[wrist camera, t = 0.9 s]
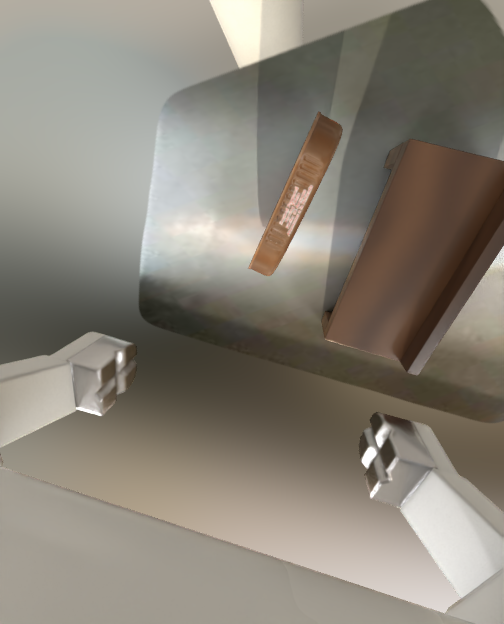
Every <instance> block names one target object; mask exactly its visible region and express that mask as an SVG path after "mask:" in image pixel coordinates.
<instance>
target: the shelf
mask: <svg viewBox="0 0 504 624" xmlns="http://www.w3.org/2000/svg"><path fill="white" fill-rule="evenodd" d="M384 168H386V169H390V170H392V171H391V174H390V176H389V179H388V181H387V183H386V186H385V188H384V191H383V193H382V195H381V198H380V200H379V202H378V205H377V207H376V210H375V212H374V214H373V217H372V219H371V222H370V224H369V226H368V229H367V231H366V234H365V236H364V238H363V241H362V243H361V245H360V248H359V250H358V253H357V255H356V257H355V260H354V262H353V265H352V267H351V269H350V272H349V274H348V277H347V279H346V281H345V284H344V286H343V289H342V291H341V293H340V296H339V298H338V300H337V303H336V305H335V308H334V310H333V312H332V313H330V312H327V311H325V313H324V316H323V318H322V321H321V322H322V327H323V333H324V337H325V339H326V340H329V341H332V342H336V343H339V344H343V345H346V346H349V347H353V348H356V349H359V350H363V351H366V352H370V353H373V354H376V355H380V356H383V357H386V358H390V359H393V360H397V361H400V362H401V364H402V365H403V367H404V369H405V370H406V372H408V373H411V374H414V375H418V374H419V373H420V371H421V370H422V368H423V367H424V365H425V364H426V362H427V361H428V359H429V358H430V356H431V355H432V353H433V352H434V350H435V349H436V347H437V346H438V344H439V342H440V341H441V339H442V338H443V336H444V335H445V333H446V332H447V330H448V329H449V327H450V326H451V324H452V323H453V321H454V320H455V318H456V317H457V315H458V314H459V312H460V311H461V309H462V308H463V306H464V305H465V303H466V302H467V300H468V299H469V297H470V296H471V294H472V293H473V291H474V290H475V288H476V287H477V285H478V283H479V282H480V280H481V279H482V277H483V276H484V274H485V273H486V271H487V270H488V268H489V267H490V265H491V264H492V262H493V261H494V259H495V258H496V256H497V255H498V253H499V252H500V250H501V249H502V247H503V246H504V161H501V160H497V159H493V158H489V157H485V156H480V155H476V154H472V153H468V152H464V151H460V150H456V149H451V148H447V147H443V146H439V145H435V144H431V143H427V142H423V141H418V140H414V139H409V140H407V141H406V142H404V143H402V144H400V145H399V146H397V147H395V148H393V149H392V150H390V153H389V155H388V157H387V160H386V162H385V165H384Z"/></svg>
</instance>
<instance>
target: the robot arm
mask: <svg viewBox="0 0 504 624" xmlns="http://www.w3.org/2000/svg"><path fill="white" fill-rule="evenodd" d="M135 355H137V346H136V345H135V344H133V343H130V342H127V341H124V340H121V339H117V338H114V337H111V336H106V335H103V334H100V333H97V332H89V333H87V334H85V335H84V336H82V337H81V338H79V339H77V340H75V341H74V342H72V343H71V344H69V345H67V346H66V347H64V348H62V349H61V350H59V351H57V352H56V353H54V354H52V355H51V356H46V355H43V356H38V357H34V358H29V359H25V360H21V361H16V362H11V363H7V364H2V365H0V447H3V446H4V445H7V444H9V443H11V442H13V441H15V440H17V439H19V438H21V437H23V436H25V435H27V434H29V433H31V432H33V431H35V430H38V429H40V428H42V427H44V426H46V425H48V424H50V423H51V422H54V421H56V420H58V419H60V418H62V417H64V416H66V415H68V414H70V413H73V412H75V411H76V409H78V410H81V411H85V412H89V413H92V414H96V415H100V416H103V415H104V414H105V413H106V412H107V410H108V409H109V408H110V407H111V406H112V405H113V404H114V403H115V402H116V400H117V394H120V393H122V392H124V391H126V390H127V388H129V387H130V385H131V384H132V382H133V380H134V378H135V375H136V371H137V364H136V363H135V361H134V360H133V357H134V356H135ZM370 423H371V427H369V428H367V429H365V430H364V431H363V433H362V436H361V437H360V443H359V454H360V459H361V461H362V463H363V464H364V465H365V467H366V468H367V469H368V470H367V471H366V473H365V479H366V483H367V488H368V492H369V495H370V498H372V499H374V500H378V501H380V502H384V503H386V504H389V505H392V506H395V507H398V508H401V509H400V511H401V512H402V513H403V515H404V516H405V518H406V520H407V521H408V522H409V524H410V525H411V527H412V528H413V530H414V531H415V533H416V534H417V536H418V537H419V539H420V540H421V541H422V543H423V544H424V546H425V547H426V549H427V550H428V552H429V553H430V555H431V556H432V558H433V559H434V560H435V562H436V563H437V565H438V566H439V568H440V569H441V571H442V572H443V574H444V575H445V576H446V578H447V579H448V581H449V582H450V583H451V585H452V587H453V588H454V590H455V591H456V592H457V594H458V595H459V597H460V598H461V599H460V600H459V601H457V602H456V603H455V604H453V605H452V606H450V607H449V608H448V610H447V612H446V613H445V614H444V613H441V612H438V611H435V610H432V609H429V608H426V607H423V606H420V605H417V604H414V603H411V602H408V601H405V600H402V599H399V598H396V597H393V596H390V595H387V594H384V593H381V592H378V591H375V590H372V589H369V588H366V587H363V586H360V585H357V584H354V583H351V582H347V581H345V580H342V579H339V578H336V577H333V576H330V575H327V574H324V573H321V572H318V571H315V570H312V569H309V568H306V567H303V566H300V565H297V564H293V563H291V562H288V561H285V560H282V559H278V558H276V557H273V556H269V555H267V554H263V553H261V552H258V551H254V550H252V549H249V548H246V547H242V546H239V545H236V544H233V543H230V542H227V541H224V540H221V539H218V538H215V537H212V536H209V535H206V534H203V533H200V532H197V531H194V530H191V529H188V528H185V527H182V526H179V525H176V524H173V523H170V522H167V521H164V520H161V519H158V518H155V517H152V516H149V515H146V514H143V513H140V512H137V511H134V510H131V509H128V508H124V507H121V506H118V505H115V504H112V503H109V502H106V501H103V500H100V499H97V498H94V497H91V496H88V495H85V494H82V493H79V492H76V491H73V490H70V489H67V488H64V487H61V486H58V485H55V484H52V483H49V482H46V481H43V480H40V479H37V478H34V477H30V476H27V475H25V474H22V473H19V472H15V471H13V470H10V469H7V468H4V467H2V465H3V460H2V457H1V454H0V624H504V512H503V511H502V510H500V509H499V508H498V507H497V506H496V505H495V504H494V503H493V502H491V501H490V500H489V499H488V498H487V497H486V496H485V495H484V494H483V493H481V492H480V491H479V490H478V489H477V488H476V487H475V486H474V485H473V484H471V483H470V482H469V481H468V480H467V479H466V478H464V477H461V476H459V475H458V473H457V472H456V470H455V468H454V467H453V465H452V463H451V462H450V460H449V458H448V457H447V455H446V453H445V451H444V450H443V448H442V446H441V445H440V443H439V441H438V440H437V438H436V436H435V434H434V433H433V431H432V429H431V428H430V427H429V426H427V425H426V424H422V423H418V422H414V421H410V420H409V421H408V420H405V419H401V418H398V417H394V416H390V415H387V414H383V413H379V412H376V413H374V414H373V415H372V417H371V419H370Z"/></svg>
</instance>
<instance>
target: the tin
mask: <svg viewBox="0 0 504 624" xmlns="http://www.w3.org/2000/svg"><path fill="white" fill-rule="evenodd" d="M342 130H343V129H342V126H341V125H340V124H338V123H337V122H335V121H333V120H331V119H329V118H327V117H325V116H324V115H322V114H321V112H318V113H317V116H316V117H315V120H314V122H313V124H312V127H311V129H310V131H309V133H308V136H307V138H306V140H305V142H304V144H303V147H302V149H301V151H300V153H299V156H298V158H297V160H296V162H295V165H294V167H293V169H292V171H291V173H290V176H289V178H288V180H287V182H286V184H285V187H284V189H283V191H282V193H281V196H280V198H279V200H278V202H277V205H276V207H275V209H274V212H273V214H272V216H271V218H270V220H269V223H268V225H267V227H266V229H265V232H264V234H263V236H262V238H261V240H260V243H259V245H258V247H257V249H256V252H255V254H254V256H253V259H252V261H251V263H250V265H249V268H248V269H252V270H255V271H257V272H259V273H261V274H263V275H266V276H270V275H272V274H273V272H274V271H275V270H276V268H277V266H278V265H279V263H280V261H281V259H282V258H283V256H284V254H285V252H286V250H287V248H288V246H289V244H290V242H291V240H292V239H293V236H294V235H295V233H296V231H297V229H298V227H299V225H300V223H301V221H302V219H303V217H304V215H305V213H306V211H307V209H308V207H309V205H310V203H311V201H312V199H313V197H314V195H315V193H316V191H317V189H318V187H319V185H320V183H321V181H322V178H323V176H324V174H325V172H326V170H327V168H328V166H329V164H330V162H331V160H332V158H333V156H334V153H335V151H336V149H337V146H338V144H339V141H340V138H341V135H342Z"/></svg>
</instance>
